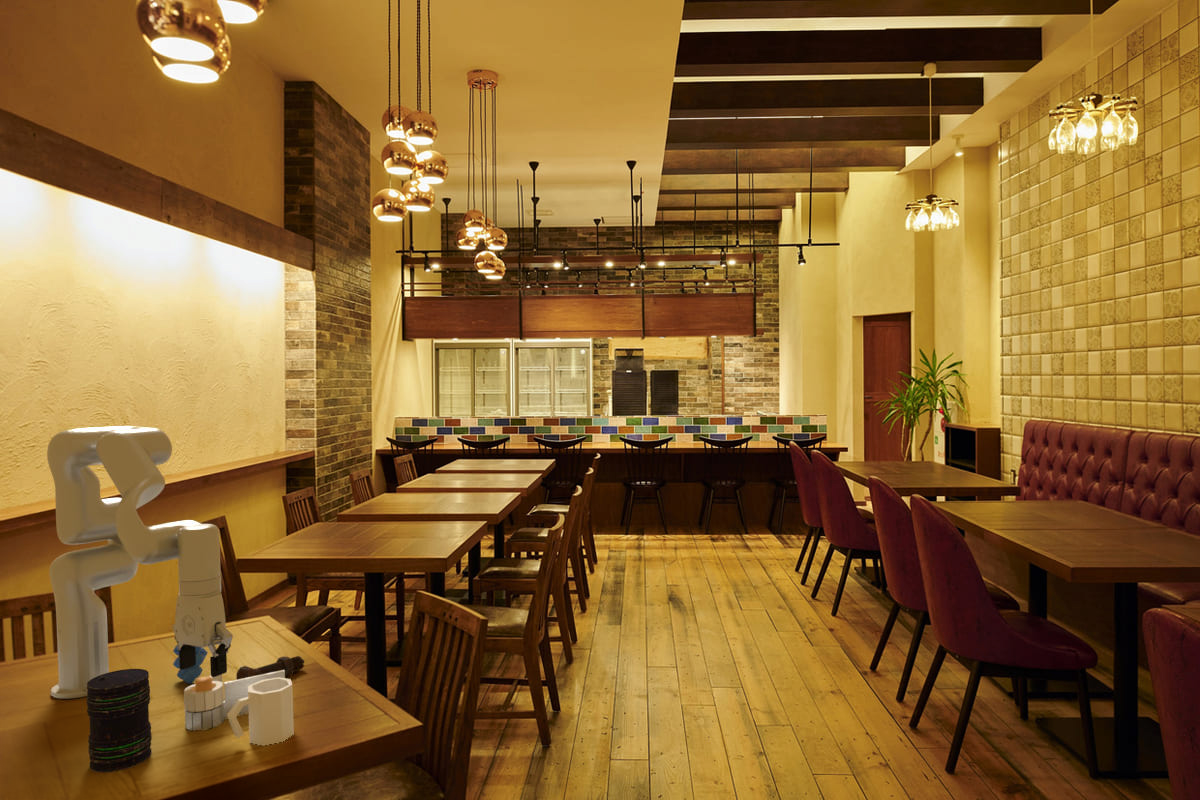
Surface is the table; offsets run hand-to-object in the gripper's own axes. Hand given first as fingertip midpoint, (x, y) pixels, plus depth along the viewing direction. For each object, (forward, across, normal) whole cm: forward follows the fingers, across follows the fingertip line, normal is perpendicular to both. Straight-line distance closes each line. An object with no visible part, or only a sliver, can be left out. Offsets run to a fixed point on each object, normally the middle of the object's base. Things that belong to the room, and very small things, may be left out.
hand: (203, 671), depth 158 cm
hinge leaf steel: (+11, +3, +5) cm, 12 cm away
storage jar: (+11, 0, -17) cm, 20 cm away
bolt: (+11, -7, +22) cm, 26 cm away
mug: (+11, +17, 0) cm, 20 cm away
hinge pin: (+10, 0, 0) cm, 11 cm away
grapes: (+11, -23, +14) cm, 29 cm away
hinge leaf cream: (+10, -3, +4) cm, 12 cm away
